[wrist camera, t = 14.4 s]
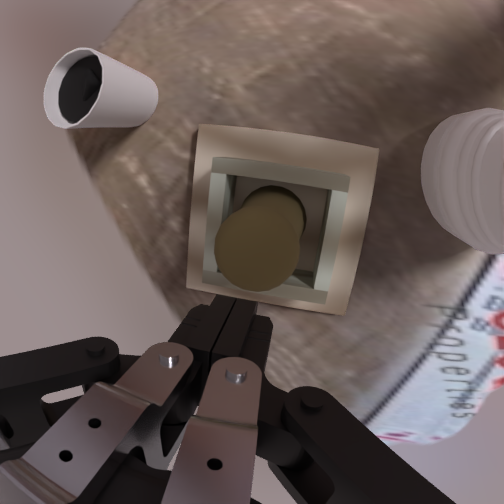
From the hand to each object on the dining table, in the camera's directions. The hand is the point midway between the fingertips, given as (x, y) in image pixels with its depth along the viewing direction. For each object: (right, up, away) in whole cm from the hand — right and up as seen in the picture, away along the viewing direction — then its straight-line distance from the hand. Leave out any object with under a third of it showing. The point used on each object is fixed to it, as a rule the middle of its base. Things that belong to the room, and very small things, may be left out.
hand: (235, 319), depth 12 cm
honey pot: (+23, +10, +13) cm, 28 cm away
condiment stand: (+3, +6, +17) cm, 19 cm away
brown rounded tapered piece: (+2, +6, +16) cm, 18 cm away
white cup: (-11, +18, +16) cm, 27 cm away
